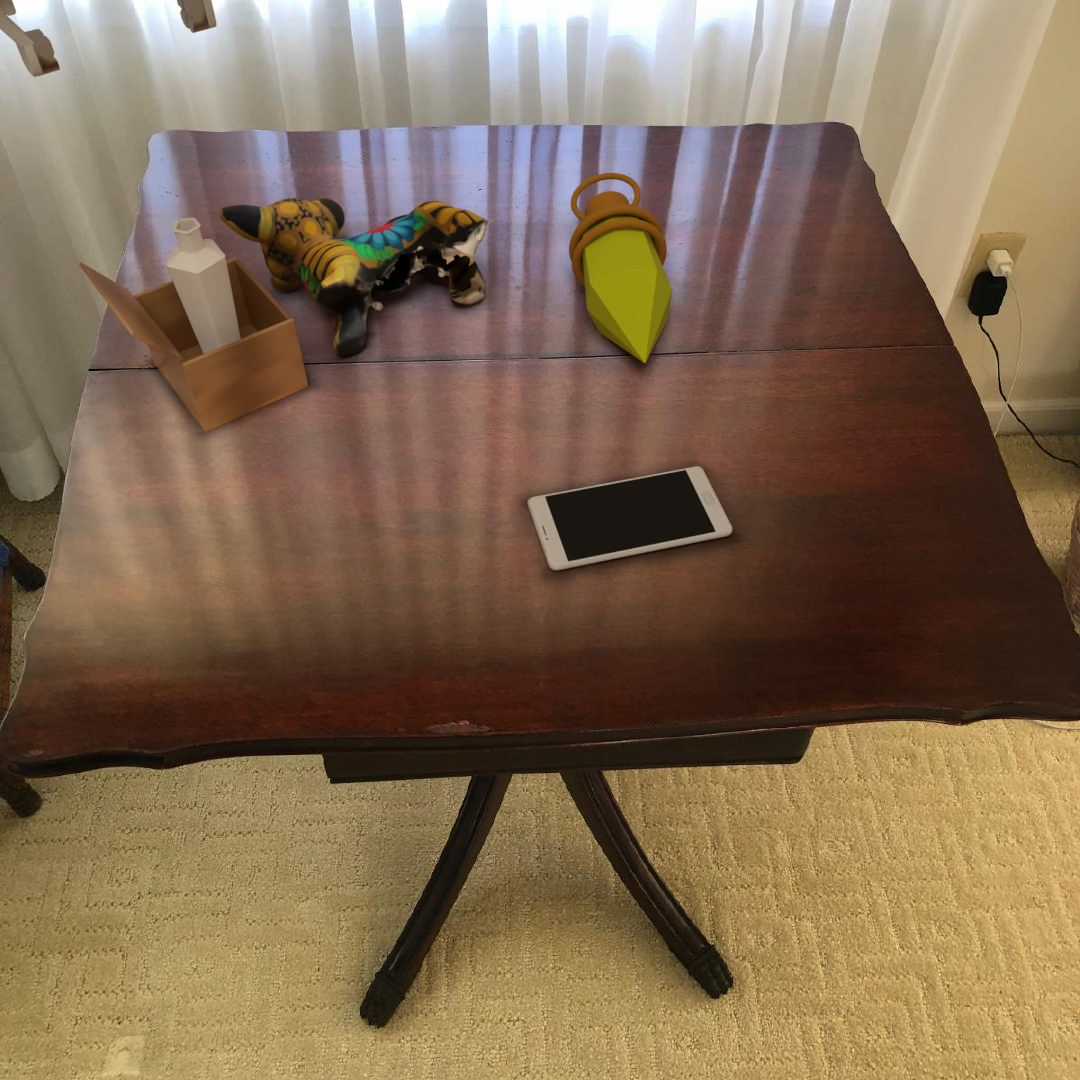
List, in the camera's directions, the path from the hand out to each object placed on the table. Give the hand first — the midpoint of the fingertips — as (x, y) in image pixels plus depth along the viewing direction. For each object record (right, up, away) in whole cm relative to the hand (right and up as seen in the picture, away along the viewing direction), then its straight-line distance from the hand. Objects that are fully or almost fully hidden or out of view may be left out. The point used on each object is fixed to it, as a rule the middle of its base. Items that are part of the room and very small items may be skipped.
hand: (124, 48), depth 57 cm
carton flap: (-8, -10, +21) cm, 25 cm away
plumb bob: (+32, -5, +39) cm, 51 cm away
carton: (-4, -14, +31) cm, 34 cm away
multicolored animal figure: (+7, -5, +39) cm, 40 cm away
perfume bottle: (-3, -14, +31) cm, 34 cm away
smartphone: (+31, -27, +22) cm, 47 cm away
